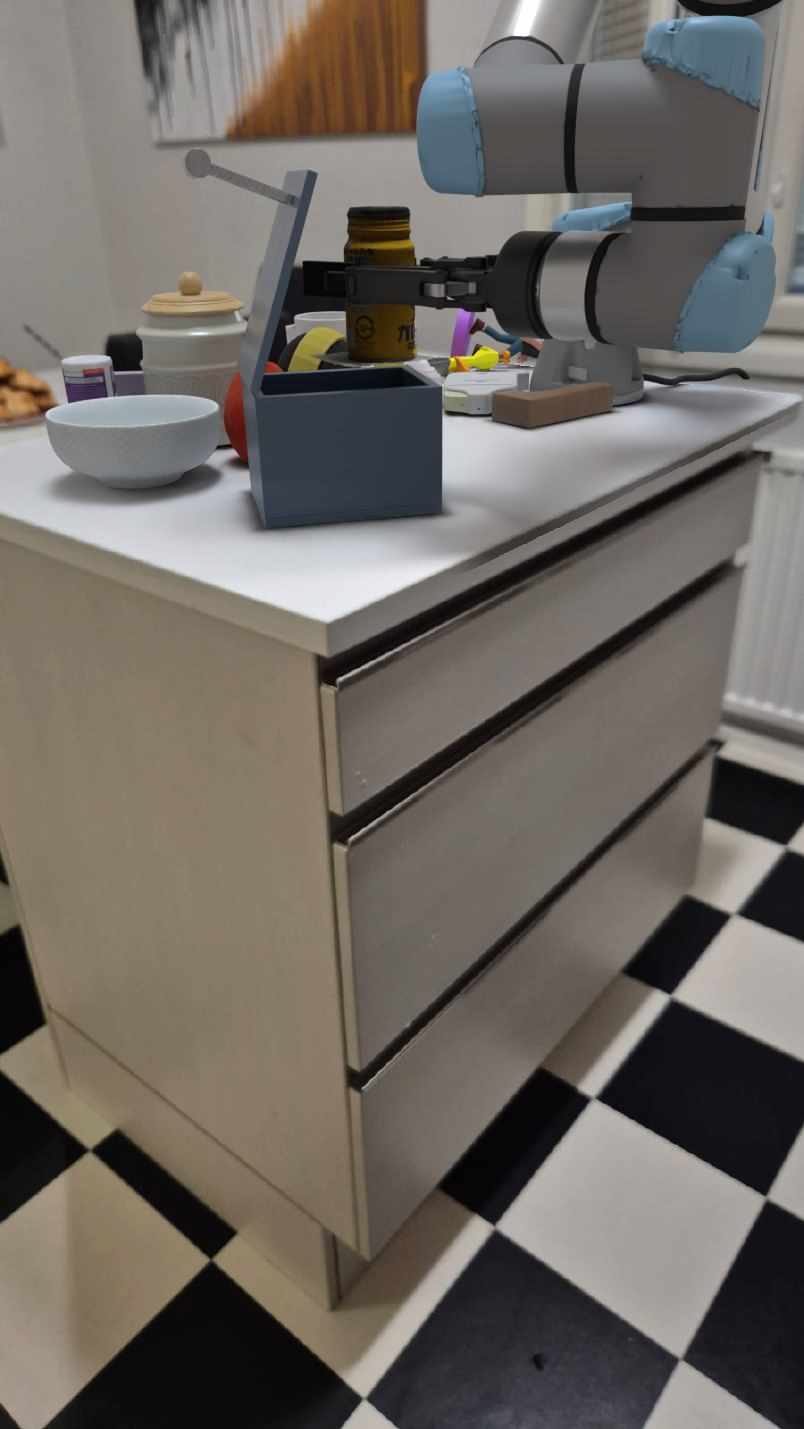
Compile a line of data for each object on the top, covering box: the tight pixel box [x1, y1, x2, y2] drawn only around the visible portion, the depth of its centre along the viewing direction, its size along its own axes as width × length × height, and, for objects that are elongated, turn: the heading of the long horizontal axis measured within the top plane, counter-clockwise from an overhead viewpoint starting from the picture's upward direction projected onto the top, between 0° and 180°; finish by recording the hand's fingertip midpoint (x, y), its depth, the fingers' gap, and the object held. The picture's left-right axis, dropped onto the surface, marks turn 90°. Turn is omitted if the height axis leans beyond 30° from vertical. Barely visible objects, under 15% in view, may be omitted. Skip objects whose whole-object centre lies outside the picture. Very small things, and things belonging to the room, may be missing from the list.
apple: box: [223, 360, 283, 464], centre depth 104 cm, size 8×8×11 cm
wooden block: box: [491, 382, 614, 429], centre depth 123 cm, size 7×3×15 cm
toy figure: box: [447, 345, 511, 374], centre depth 151 cm, size 7×4×12 cm
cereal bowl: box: [44, 395, 221, 490], centre depth 98 cm, size 17×17×7 cm
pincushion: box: [404, 360, 446, 387], centre depth 131 cm, size 12×6×6 cm
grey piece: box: [373, 356, 450, 377], centre depth 150 cm, size 12×2×5 cm
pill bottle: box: [60, 354, 118, 404], centre depth 110 cm, size 5×5×10 cm
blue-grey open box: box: [241, 365, 444, 530], centre depth 89 cm, size 16×12×11 cm
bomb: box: [277, 327, 361, 372], centre depth 119 cm, size 11×11×15 cm
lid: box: [181, 147, 319, 393], centre depth 80 cm, size 17×12×9 cm
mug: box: [284, 310, 366, 368], centre depth 130 cm, size 12×9×11 cm
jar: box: [135, 271, 248, 447], centre depth 112 cm, size 13×13×18 cm
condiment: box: [309, 205, 435, 368], centre depth 84 cm, size 7×8×12 cm
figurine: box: [449, 308, 544, 364], centre depth 155 cm, size 9×9×18 cm
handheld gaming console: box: [443, 370, 530, 415], centre depth 130 cm, size 11×3×15 cm
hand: (333, 275), depth 87 cm, fingers closed on condiment, 6 cm apart
